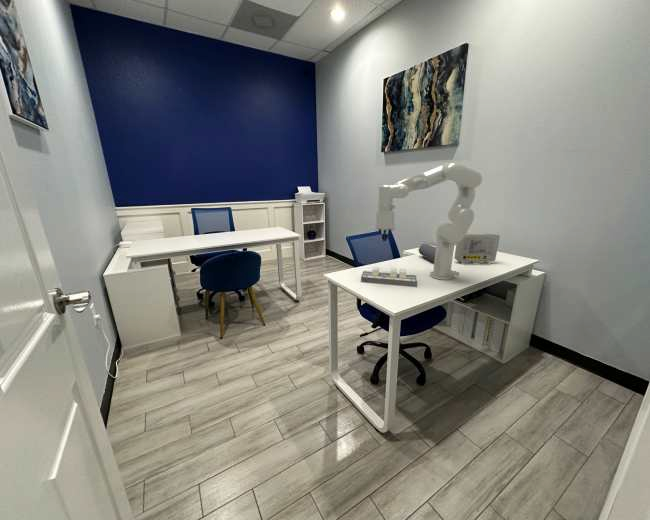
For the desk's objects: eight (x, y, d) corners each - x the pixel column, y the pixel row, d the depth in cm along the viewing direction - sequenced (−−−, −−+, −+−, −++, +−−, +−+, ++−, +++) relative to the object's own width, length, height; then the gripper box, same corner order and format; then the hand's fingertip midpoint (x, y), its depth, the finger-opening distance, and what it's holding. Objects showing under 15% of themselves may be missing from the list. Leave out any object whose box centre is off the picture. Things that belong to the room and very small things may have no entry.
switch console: (415, 280, 159) (416, 274, 158) (416, 286, 150) (417, 281, 149) (363, 275, 166) (363, 270, 165) (361, 281, 157) (361, 276, 156)
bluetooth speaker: (448, 265, 184) (450, 250, 181) (435, 266, 182) (437, 251, 179) (428, 255, 205) (430, 242, 202) (417, 256, 203) (418, 243, 200)
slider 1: (378, 273, 161) (379, 267, 160) (378, 276, 157) (378, 270, 156) (372, 272, 162) (373, 266, 161) (372, 275, 158) (372, 269, 156)
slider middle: (396, 274, 159) (397, 268, 158) (396, 277, 154) (396, 271, 153) (390, 274, 160) (390, 268, 159) (390, 277, 155) (390, 271, 154)
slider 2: (405, 275, 158) (406, 269, 157) (405, 278, 153) (406, 272, 152) (399, 274, 159) (399, 269, 157) (399, 277, 154) (399, 271, 153)
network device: (489, 261, 192) (495, 232, 186) (496, 265, 184) (502, 235, 178) (452, 261, 193) (456, 232, 187) (457, 265, 185) (462, 235, 179)
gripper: (399, 206, 154) (398, 239, 159) (372, 207, 157) (371, 238, 163) (399, 208, 147) (398, 242, 152) (371, 209, 150) (370, 242, 156)
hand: (384, 240), depth 158 cm, fingers closed
